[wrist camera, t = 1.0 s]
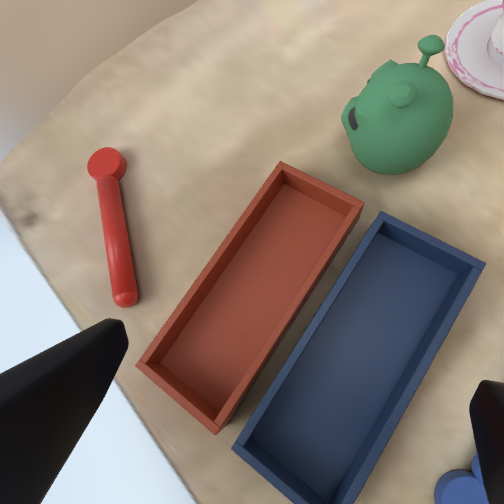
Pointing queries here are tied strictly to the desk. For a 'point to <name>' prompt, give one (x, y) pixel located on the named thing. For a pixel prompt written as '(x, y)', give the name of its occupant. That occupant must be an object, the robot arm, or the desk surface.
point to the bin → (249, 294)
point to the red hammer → (114, 224)
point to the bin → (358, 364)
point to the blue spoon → (462, 486)
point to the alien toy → (400, 114)
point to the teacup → (479, 48)
